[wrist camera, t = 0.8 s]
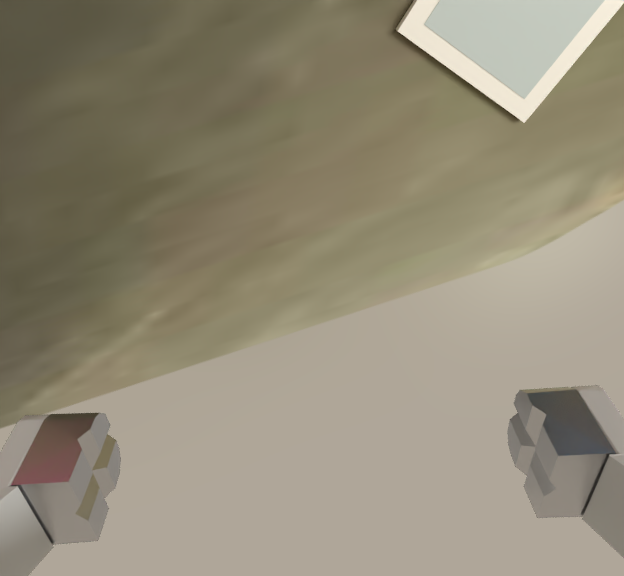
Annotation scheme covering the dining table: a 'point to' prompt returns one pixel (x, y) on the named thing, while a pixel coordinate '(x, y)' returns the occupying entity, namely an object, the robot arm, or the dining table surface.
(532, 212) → the dining table surface
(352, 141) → the dining table surface
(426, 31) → the plate
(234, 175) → the dining table surface
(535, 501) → the robot arm
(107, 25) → the dining table surface
